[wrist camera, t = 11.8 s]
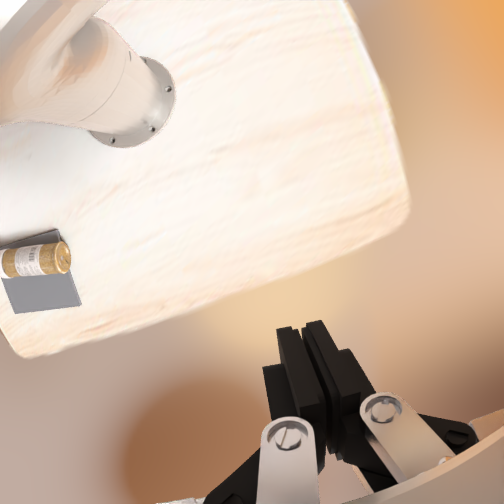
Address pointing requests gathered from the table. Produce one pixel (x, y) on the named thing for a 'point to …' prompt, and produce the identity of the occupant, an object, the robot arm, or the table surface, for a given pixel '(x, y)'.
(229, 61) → the table surface
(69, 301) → the mat
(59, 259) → the sprinkles bottle
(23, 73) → the robot arm
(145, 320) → the table surface
